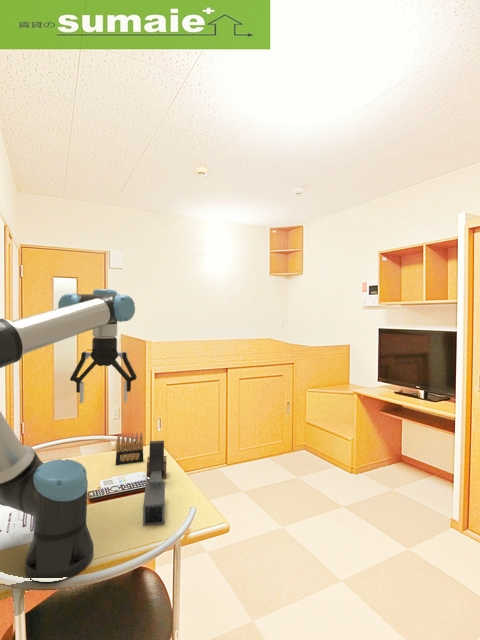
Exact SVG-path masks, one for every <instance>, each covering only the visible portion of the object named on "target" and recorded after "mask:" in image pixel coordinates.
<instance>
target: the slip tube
mask: <svg viewBox="0 0 480 640" xmlns="http://www.w3.org/2000/svg"><path fill="white" fill-rule="evenodd" d="M148 454H149V456H148V457H149V471H151V475H150V479H149V482H161V481H163V479H162V471H164V456H165V440H149V453H148Z"/></svg>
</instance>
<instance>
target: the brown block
mask: <svg viewBox="0 0 480 640" xmlns="http://www.w3.org/2000/svg"><path fill="white" fill-rule="evenodd" d="M167 460H168V459H167V455H164V471H162V480H163V479H167ZM150 475H151V471H149V456H147V458H146V478H147V477H149V478H150Z"/></svg>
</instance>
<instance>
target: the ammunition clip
mask: <svg viewBox="0 0 480 640" xmlns="http://www.w3.org/2000/svg"><path fill="white" fill-rule="evenodd" d="M134 436H135V437H134ZM143 438H144V437H143V433H142V432H140V434H139V433H138V432H136V433H135V435H134V433H133V432H132V433H131V437H130V434H129V433H127V435H126V438H125V434H124V433H122V435H121V437H120V434H117V438H116V444H115V446H116V449H115V465H116V466H120V465H128V464H129V465H130V464H138V463H144V439H143Z"/></svg>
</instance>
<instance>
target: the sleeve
mask: <svg viewBox="0 0 480 640" xmlns="http://www.w3.org/2000/svg"><path fill="white" fill-rule="evenodd" d="M165 490H166V482H165V481H163V480H162V481H161V482H150V481H149V482H148V481H147V482H145V489H144V498H143V503H142V504H143V505H142V506H143V508H142V511H143V513H142V516H143V517H142V518H143V519H142V527H143V526H155V525H165V510H166V509H165V506H166V505H165V501H166V500H165V499H166V498H165V496H166V494H165V493H166V491H165Z"/></svg>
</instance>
